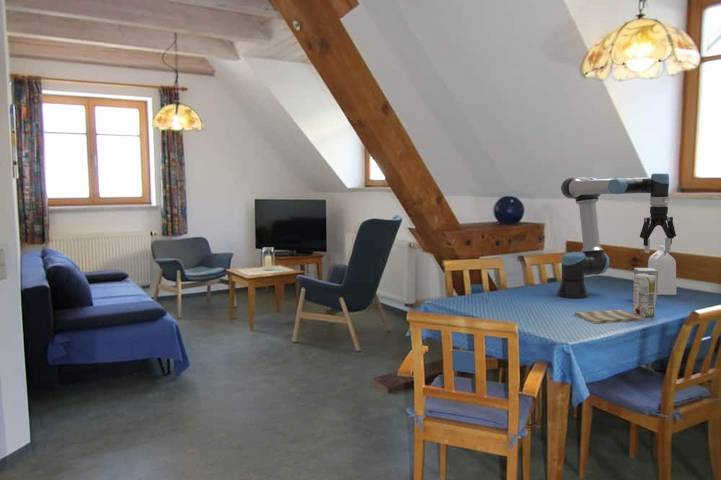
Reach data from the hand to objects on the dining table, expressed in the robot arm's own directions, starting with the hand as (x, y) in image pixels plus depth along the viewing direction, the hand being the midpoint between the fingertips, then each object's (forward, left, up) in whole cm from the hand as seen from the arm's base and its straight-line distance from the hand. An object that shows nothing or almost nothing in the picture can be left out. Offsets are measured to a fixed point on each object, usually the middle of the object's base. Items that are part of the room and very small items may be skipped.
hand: (657, 252), depth 266 cm
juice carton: (-6, -14, -28) cm, 32 cm away
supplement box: (-3, +18, -28) cm, 34 cm away
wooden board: (-21, -24, -28) cm, 42 cm away
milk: (+7, +45, -28) cm, 53 cm away
